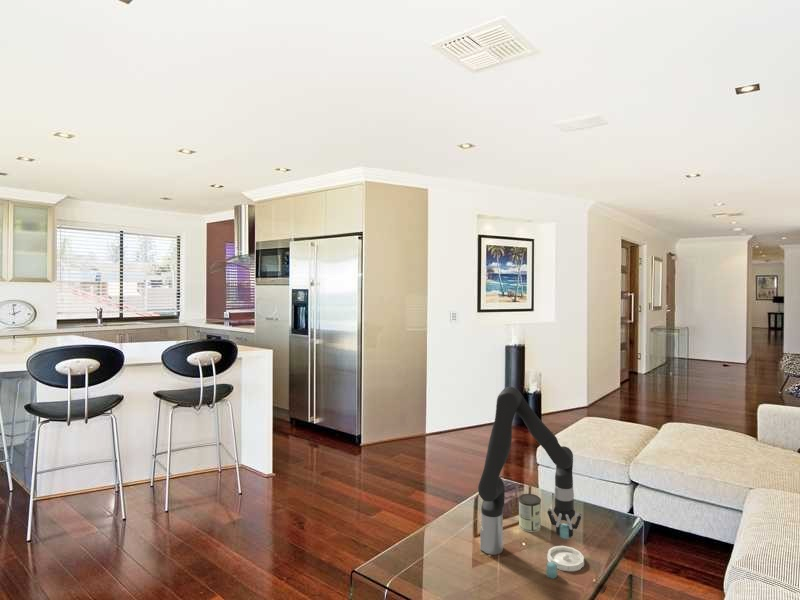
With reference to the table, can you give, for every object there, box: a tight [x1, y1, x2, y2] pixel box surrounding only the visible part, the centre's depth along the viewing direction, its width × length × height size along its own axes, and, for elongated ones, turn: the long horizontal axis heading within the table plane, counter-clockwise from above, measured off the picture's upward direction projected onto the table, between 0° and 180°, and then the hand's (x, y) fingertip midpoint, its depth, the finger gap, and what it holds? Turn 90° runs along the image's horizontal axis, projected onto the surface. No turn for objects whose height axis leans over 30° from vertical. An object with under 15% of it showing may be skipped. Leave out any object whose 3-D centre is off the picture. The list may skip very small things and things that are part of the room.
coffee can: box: [518, 493, 542, 533], centre depth 249 cm, size 10×10×14 cm
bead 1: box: [546, 562, 558, 580], centre depth 212 cm, size 4×4×4 cm
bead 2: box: [559, 523, 570, 540], centre depth 216 cm, size 4×4×4 cm
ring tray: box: [546, 545, 585, 572], centre depth 222 cm, size 15×15×2 cm
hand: (564, 535), depth 216 cm, fingers closed on bead 2, 4 cm apart
